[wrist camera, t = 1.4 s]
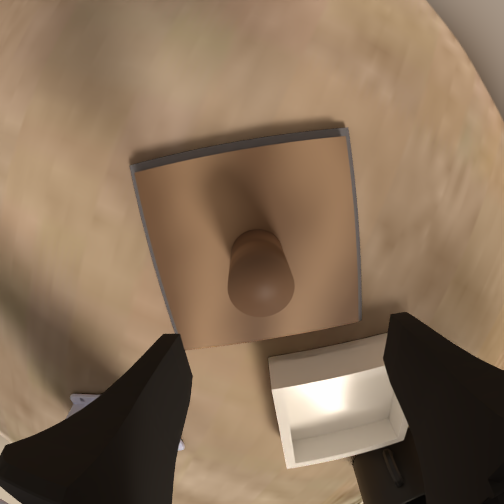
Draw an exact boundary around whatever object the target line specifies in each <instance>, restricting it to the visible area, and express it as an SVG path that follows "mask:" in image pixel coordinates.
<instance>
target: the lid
mask: <svg viewBox="0 0 504 504" xmlns="http://www.w3.org/2000/svg"><path fill="white" fill-rule="evenodd" d="M134 174H135V179H136V183H137V188H138V192H139V197H140V201H141V205H142V209H143V214H144V218H145V222H146V226H147V230H148V234H149V238H150V241H151V245H152V249H153V253H154V256H155V260H156V263H157V267H158V270H159V274H160V277H161V281H162V284H163V287H164V291H165V294H166V297H167V301H168V304H169V307H170V310H171V313H172V316H173V319H174V322H175V325H176V328H177V331H178V334H180V335H181V339H182V342H183V346H184V349H185V350H192V349H201V348H209V347H217V346H225V345H233V344H240V343H247V342H253V341H260V340H266V339H272V338H279V337H284V336H290V335H296V334H301V333H307V332H312V331H317V330H322V329H327V328H332V327H337V326H342V325H346V324H351V323H355V322H358V321H359V312H358V266H357V245H356V229H355V216H354V204H353V193H352V183H351V174H350V165H349V157H348V149H347V142H346V136H340V137H330V138H321V139H312V140H303V141H295V142H288V143H281V144H274V145H267V146H260V147H254V148H248V149H242V150H236V151H231V152H225V153H220V154H215V155H210V156H205V157H200V158H195V159H190V160H186V161H181V162H176V163H172V164H168V165H163V166H159V167H155V168H151V169H147V170H143V171H139V172H136V173H134Z"/></svg>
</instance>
